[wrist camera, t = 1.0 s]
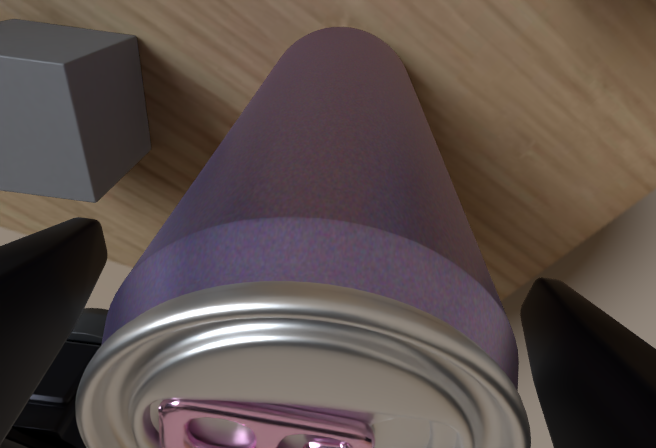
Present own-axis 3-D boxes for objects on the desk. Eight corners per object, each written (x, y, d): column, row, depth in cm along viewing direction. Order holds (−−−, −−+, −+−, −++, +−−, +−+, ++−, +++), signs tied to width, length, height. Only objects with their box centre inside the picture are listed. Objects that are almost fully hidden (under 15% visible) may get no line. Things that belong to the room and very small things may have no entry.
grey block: (152, 149, 19) (96, 203, 15) (46, 135, 19) (-39, 185, 15) (137, 35, 17) (63, 63, 12) (13, 18, 17) (-102, 41, 12)
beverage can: (281, 7, 16) (-1, 226, 3) (430, 44, 16) (677, 362, 4) (262, 148, 19) (86, 523, 7) (387, 175, 19) (440, 578, 7)
